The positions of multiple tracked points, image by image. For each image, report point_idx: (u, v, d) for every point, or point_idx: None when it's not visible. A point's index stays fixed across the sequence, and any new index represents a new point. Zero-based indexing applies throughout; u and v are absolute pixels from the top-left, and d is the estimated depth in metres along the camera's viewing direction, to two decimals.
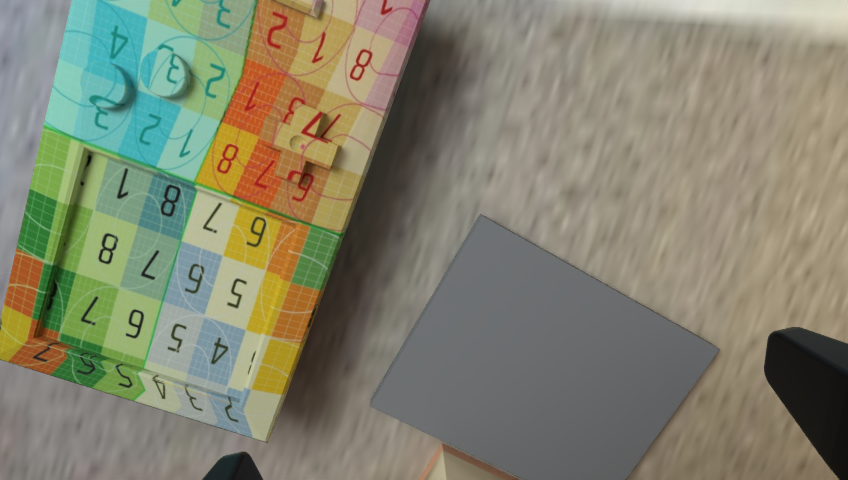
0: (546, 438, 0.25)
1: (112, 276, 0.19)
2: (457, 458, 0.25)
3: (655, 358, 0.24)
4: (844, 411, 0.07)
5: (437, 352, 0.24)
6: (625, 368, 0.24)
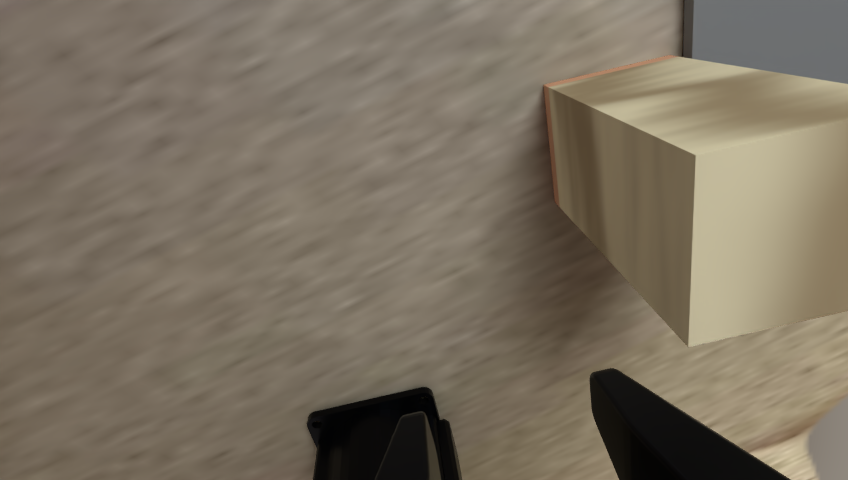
0: None
1: None
2: None
3: None
4: (632, 459, 0.07)
5: None
6: None
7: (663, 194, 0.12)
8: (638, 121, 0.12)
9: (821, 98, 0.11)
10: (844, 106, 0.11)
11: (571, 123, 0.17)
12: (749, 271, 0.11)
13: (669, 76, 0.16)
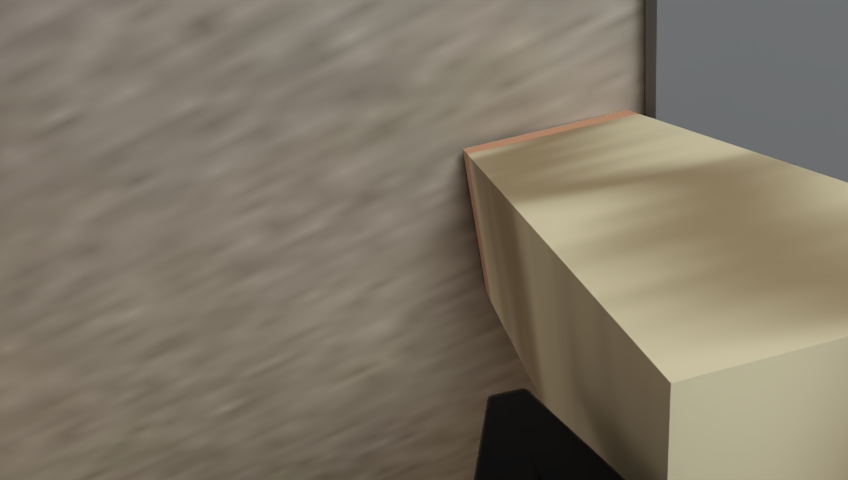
0: None
1: None
2: None
3: None
4: None
5: None
6: None
7: (616, 396, 0.07)
8: (575, 253, 0.08)
9: None
10: None
11: (493, 212, 0.12)
12: None
13: (626, 151, 0.11)
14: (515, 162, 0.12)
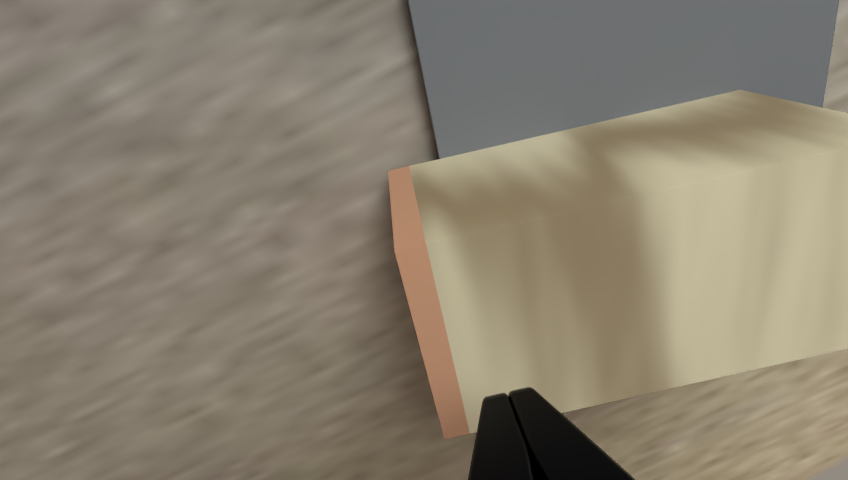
0: None
1: None
2: None
3: None
4: None
5: (576, 12, 0.12)
6: None
7: (846, 209, 0.10)
8: (759, 161, 0.09)
9: (709, 110, 0.12)
10: (743, 104, 0.12)
11: (547, 259, 0.09)
12: None
13: (519, 162, 0.12)
14: (500, 207, 0.10)
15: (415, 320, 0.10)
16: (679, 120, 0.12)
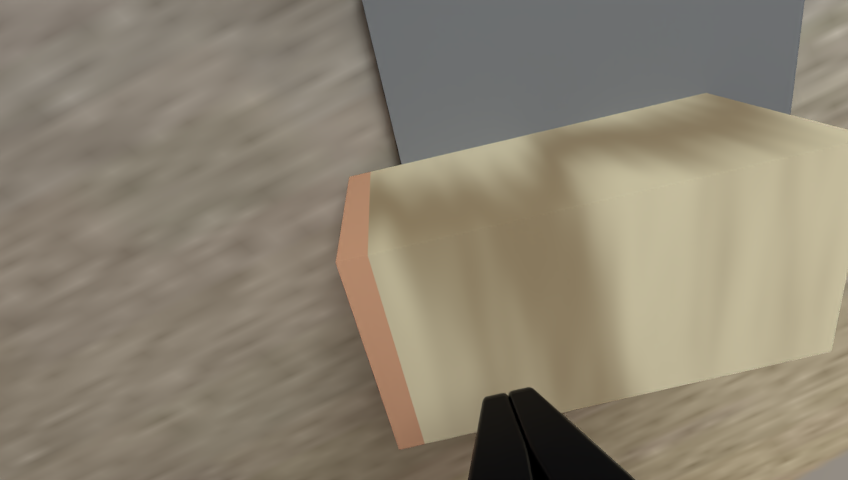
0: None
1: None
2: None
3: None
4: None
5: (535, 16, 0.12)
6: None
7: (799, 217, 0.09)
8: (707, 169, 0.09)
9: (671, 114, 0.12)
10: (706, 108, 0.12)
11: (493, 269, 0.09)
12: None
13: (476, 169, 0.12)
14: (447, 216, 0.10)
15: (361, 331, 0.10)
16: (640, 125, 0.12)
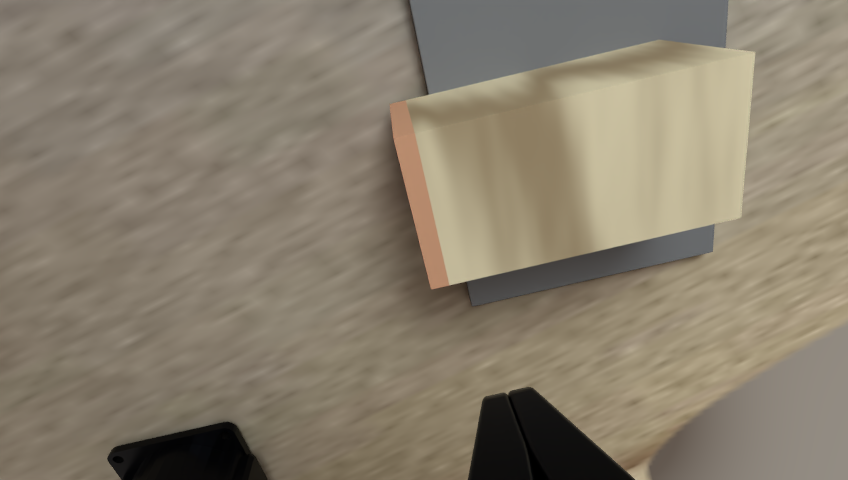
0: None
1: None
2: None
3: None
4: None
5: None
6: None
7: (708, 110, 0.14)
8: (643, 76, 0.13)
9: (630, 52, 0.17)
10: (655, 47, 0.16)
11: (499, 146, 0.14)
12: None
13: (486, 91, 0.16)
14: (467, 113, 0.14)
15: (408, 191, 0.14)
16: (606, 60, 0.16)
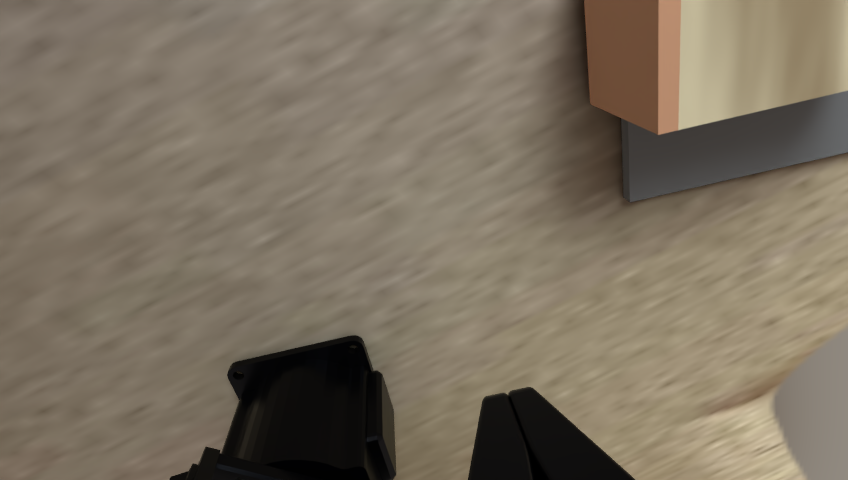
0: None
1: None
2: None
3: None
4: None
5: None
6: None
7: None
8: None
9: None
10: None
11: None
12: None
13: None
14: None
15: (660, 7, 0.13)
16: None
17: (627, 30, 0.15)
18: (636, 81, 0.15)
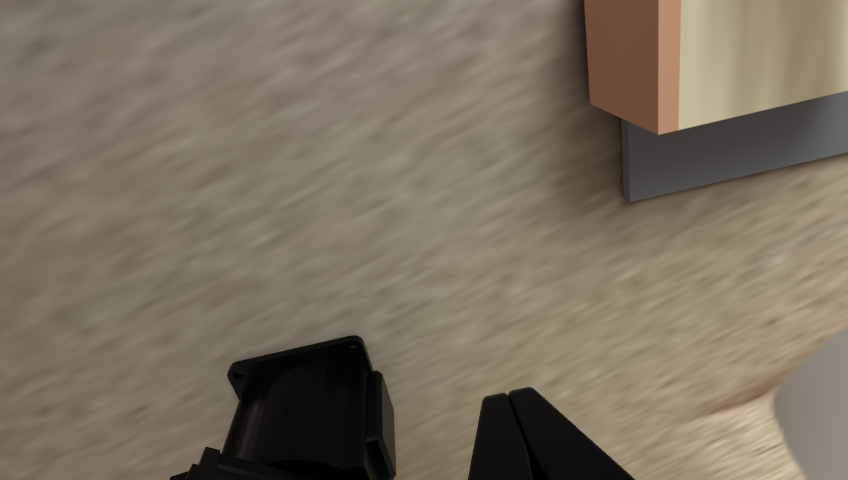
0: None
1: None
2: None
3: None
4: None
5: None
6: None
7: None
8: None
9: None
10: None
11: None
12: None
13: None
14: None
15: (660, 7, 0.13)
16: None
17: (627, 30, 0.15)
18: (636, 81, 0.15)
